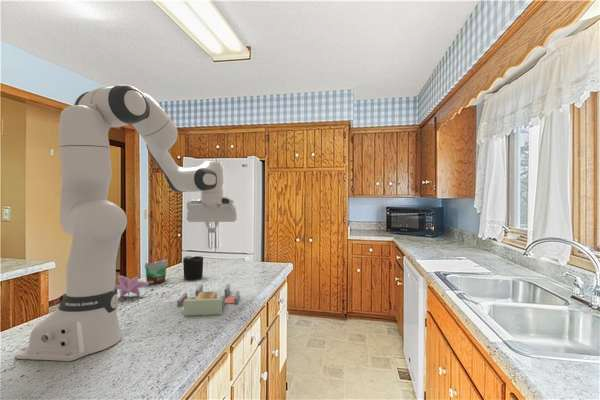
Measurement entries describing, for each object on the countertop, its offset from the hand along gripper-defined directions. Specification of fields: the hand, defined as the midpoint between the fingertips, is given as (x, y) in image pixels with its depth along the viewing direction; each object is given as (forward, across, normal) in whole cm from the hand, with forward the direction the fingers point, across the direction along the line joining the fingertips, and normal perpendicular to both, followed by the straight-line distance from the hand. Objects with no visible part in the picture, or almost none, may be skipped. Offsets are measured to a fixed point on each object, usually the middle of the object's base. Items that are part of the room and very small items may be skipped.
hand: (212, 232), depth 126 cm
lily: (+26, -31, -5) cm, 40 cm away
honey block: (+25, +1, -19) cm, 32 cm away
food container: (+25, -27, +17) cm, 41 cm away
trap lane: (+25, +1, -12) cm, 28 cm away
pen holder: (+25, -13, +24) cm, 37 cm away
